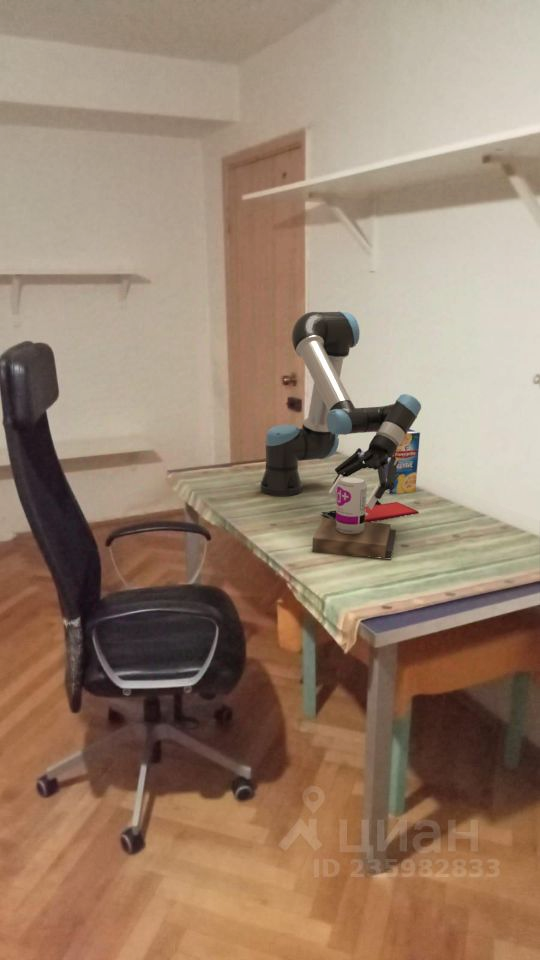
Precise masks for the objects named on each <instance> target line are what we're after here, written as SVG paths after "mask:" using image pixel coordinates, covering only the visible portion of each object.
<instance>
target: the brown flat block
mask: <svg viewBox="0 0 540 960" xmlns="http://www.w3.org/2000/svg"><path fill="white" fill-rule="evenodd" d="M335 525H336V519H332V518H330V517H323V519H321V522H320V524H319V526H318V527H317V529H316V531H315V533H314V535H313V537H312V549H311V550H312V552H315V553H326V554H334V555H343V556H351V555H356V556H355V557H360V556H368V557H367V558H369V556H370V557H381V558H391V559H392V557H393V552H392V551H394V547H393V546H394V545H395V542H394V541H396V536H397V533H396V532H397V529H392V526H391V525H392V524H391V523H384V522H383V523H382V522H365V526H364V530H363V531H362V532H361V533H359V534H344V533H341V532H339V531H338V530H337V529H336V528H335ZM391 556H392V557H391Z"/></svg>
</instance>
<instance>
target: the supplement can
mask: <svg viewBox="0 0 540 960" xmlns="http://www.w3.org/2000/svg"><path fill="white" fill-rule="evenodd" d="M367 486H368V485H367V482H366V479H365V478H363V477H359V476H351V475H350V476H348V477H342V478H340V481H339V482H338V484H337V495H336V503H335V504H336V509H335V510H336V525H335V528H336V529H337V530H338V531H339V532H341V533H344V534H359V533H361V532H362V531H363V530H364V526H365V509H366V507H367V505H366V502H367V491H368V490H367V488H368V487H367Z"/></svg>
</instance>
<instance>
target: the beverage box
mask: <svg viewBox="0 0 540 960" xmlns="http://www.w3.org/2000/svg"><path fill="white" fill-rule="evenodd" d="M420 439H421V432H420V431H417V430H413V429H409V430H408V432H407V433H406V435H405V437H404V438H403V440H402V442H401V443H400V445H399V446H398V447H397V450H396V452H395V453H394V455H393V456H395V458H396V459H397V461H398V465H397V467H396V472H395V483H394V489H393V490H390V489H387V490H385V492H384V493H386V494H389V495H396V493H397V494H404V492H407V493H413V492H414V491H415V492H416V491H417V490H416V489H417V487H416V486H417V475H418V465H419V464H418V463H419V452H420V451H419V450H420ZM388 465H389V463H387V464H386V465H384V469H385V476H386V482H387V474H388ZM379 486H381V485H380V484H379Z"/></svg>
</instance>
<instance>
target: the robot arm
mask: <svg viewBox="0 0 540 960" xmlns="http://www.w3.org/2000/svg"><path fill="white" fill-rule="evenodd" d="M360 334H361V333H360V326H359V323H358V320H357V319H356V317H355V316H354V315H353V314H352V313H350V312H343V311H309V312H307V313H305V314H303V315H302V316H300V317H299V318H298V319H297V320H296V322H295V324H294V325H293V329H292V332H291V343H292V347H293V349H294V351H295V353H296V355H297V357H299V358H302V360H303V362H304V364H305V366H306V368H307V370H308V373H309V374H310V376H311V378H312V380H313V386H312V391H311V398H310V399H311V400H310V405H309V411H308V416H307V418H305V419H304V420H303V421H302V425H301V427H302V428H300V427H299V426H298V425H296V424H282V425H276V426H273V427H271V428H270V429H268V430H267V431H266V437H265V471H264V474H263V476H262V479H261V482H260V492H261V493H262V494H266V495H269V496H275V497H289V496H295V495H299V494H301V493H302V492H303V484H302V480H301V477H300V476H301V475H300V472H299V462H302V461H312V460H323V459H328V458H331V457H332V456H334V455H335V453H336V452H337V451H338V447H339V443H340V439H339V436H340V435H341V436H342V435H343V436H346V435H351V434H352V435H353V434H361V433H375V435H373V438H372V439H371V441H370V443H369V446H368V449H367V450H366V451H364V450H362V449H361V447H359V448H357V449H356V451H355V452H353V454H352V455H350V456H349V457H348V458H346V459H345V460H344V461H342V463H340V464H339V465H338V466H336V468H335V469H334V471H335V472H336V474H337V476H336V477H335V479H334V481H333V483H332V484H333V485H332V487H331V488H330V489H329V491H328V493H329V494H330V496H331V497H332V498H333V499H336V498H337V484H338V482H339V481H340V478H342V477H349V476H350V477H351V475H353V474H355V473H357V472H358V471H360V470H362V469H367V468H368V469H373V470H375V471H377V475H378V479H379V484H376V486H375V487H374V489H373V490H372V492H371V493H370V495H369V496H368V499H366V507H367V506H368V508H369V509H371V510H372V508H373V506H374V505H375V503H376V501H377V500H378V501H379V500H380V499H382V497H383V495H384V494H385V493H386V492H385V490H387V489H390V490H393V489H394V483H395V472H396V467H397V465H398V461H397V459H396V458H395V456H393V455H394V453H395V452H396V450H397V447H398V446H399V445H400V443H401V442H402V440H403V438H404V437H405V435H406V433H407V432H408V430H409V429H410V428H411V427H412V425H413V424H414V423H415V421H416V419H417V418H418V415H419V414H420V411H421V410H422V404H421V403H420V401H419V400H418V399H417V398H416V397H415V396H413V395H410V394H407V393H404V394H400V395H399V396H398V397H397V399H396V400H395V403H392V404H387V405H383V406H382V405H381V406H372V407H356V406H355V405H354V404H353V401H352V400H351V397H350V395H349V394H348V392H347V390H346V388H345V386H344V384H343V382H342V381H341V379H340V378H341V373H342V368H343V362H344V360H345V358H347V357H348V356H349V354H350V350H351V349H353V348H354V347H356V346H357V344H358V343H359V340H360ZM387 463H389V465H388V474H387V482H386V476H385V469H384V465H386V464H387ZM380 485H381V486H380Z"/></svg>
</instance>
